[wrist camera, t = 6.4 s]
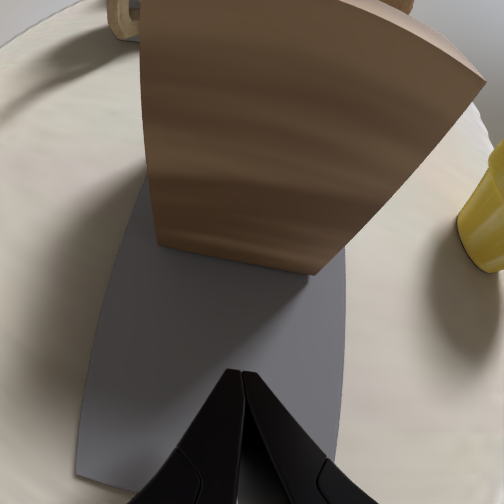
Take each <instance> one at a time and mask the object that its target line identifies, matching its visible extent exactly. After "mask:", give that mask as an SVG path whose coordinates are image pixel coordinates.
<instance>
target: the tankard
mask: <svg viewBox="0 0 504 504" xmlns="http://www.w3.org/2000/svg"><path fill="white" fill-rule="evenodd" d="M107 19H108V25H109V26H110V28H111V30H112V31H113V33H114V34H115V36H116V38H117V39H120V40H125V41H132V42H140V0H108V2H107Z"/></svg>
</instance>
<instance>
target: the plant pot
mask: <svg viewBox="0 0 504 504" xmlns="http://www.w3.org/2000/svg"><path fill="white" fill-rule="evenodd" d="M488 165H489V168H488V170H487V171H486V173H485V175H484V176H483V178H482V180H481V181H480V183H479V184H478V186H477V187H476V189H475V191H474V192H473V194H472V195H471V197H470V198H469V200H468V201H467V202H466V204H465V205H464V207H463V208H462V210H461V211H460V213H459V215H458V219H457V226H458V232H459V236H460V239H461V242H462V244H463V246H464V248H465V250H466V252H467V254H468V255H469V257H470V258H471V259H472V261H473V262H474V263H475V264H476V265H477V267H479V268H480V269H481V270H483V271H485V272H487V273H494V272H497V271H500V270H503V269H504V139H503V140H502V141H501V142H500V143H499V144H498V145H497V147H496V148H495V149H494V150H493V152H492V153H491V154H490V156H489V159H488Z"/></svg>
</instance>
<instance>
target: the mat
mask: <svg viewBox="0 0 504 504" xmlns="http://www.w3.org/2000/svg"><path fill="white" fill-rule="evenodd" d="M345 314H346V274H345V246H344V247H343V248H342V249H341V250H340V252H339V253H338V254H337V255H336V256H335V257H334V258H333V259H332V260H331V261H330V262H329V263H328V264H327V265H326V266H325V267H324V268H322V269H321V270H320V271H319V272H318V273H317V274H316V275H315V276H312V275H307V274H302V273H296V272H291V271H286V270H280V269H275V268H270V267H265V266H260V265H254V264H249V263H244V262H239V261H234V260H229V259H223V258H218V257H213V256H208V255H203V254H198V253H193V252H188V251H183V250H178V249H173V248H168V247H163V246H158V244H157V238H156V232H155V225H154V219H153V212H152V205H151V198H150V190H149V182H148V174H147V176H146V179H145V181H144V184H143V186H142V189H141V191H140V194H139V196H138V199H137V201H136V204H135V206H134V209H133V212H132V214H131V217H130V220H129V223H128V225H127V228H126V231H125V234H124V237H123V240H122V243H121V246H120V249H119V252H118V255H117V258H116V261H115V264H114V267H113V271H112V274H111V277H110V281H109V284H108V288H107V291H106V295H105V298H104V302H103V306H102V310H101V314H100V318H99V322H98V326H97V330H96V334H95V339H94V343H93V348H92V352H91V357H90V362H89V367H88V373H87V378H86V384H85V390H84V396H83V403H82V410H81V418H80V426H79V435H78V445H77V458H76V474H78V475H81V476H83V477H86V478H89V479H92V480H95V481H98V482H101V483H104V484H107V485H111V486H114V487H117V488H121V489H125V490H128V491H132V492H136V493H138V492H139V491H140V490H141V489H142V488H143V487H144V486H145V485H146V484H147V483H148V482H149V481H150V480H151V478H152V477H153V476H154V475H155V474H156V473H157V472H158V470H159V469H160V468H161V466H162V465H163V464H164V462H165V461H166V460H167V458H168V457H169V455H170V454H171V452H172V451H173V449H174V448H176V445H177V444H178V442H179V441H180V439H181V438H182V436H183V435H184V433H185V432H186V430H187V429H188V427H189V426H190V424H191V423H192V421H193V419H194V418H195V416H196V415H197V413H198V412H199V410H200V409H201V407H202V406H203V404H204V402H205V401H206V399H207V398H208V396H209V395H210V393H211V391H212V390H213V388H214V387H215V385H216V383H217V382H218V380H219V379H220V377H221V375H222V374H223V372H224V371H225V369H227V368H230V369H237V370H240V371H241V372H242V371H252V372H257V373H258V374H259V375H260V377H261V378H262V379H263V380H264V382H265V383H266V384H267V385H268V387H269V388H270V389H271V390H272V392H273V393H274V394H275V395H276V397H277V398H278V399H279V400H280V401H281V403H282V404H283V405H284V406H285V408H286V409H287V410H288V411H289V412H290V414H291V415H292V416H293V417H294V418H295V419H296V421H297V422H298V423H299V424H300V425H301V427H302V428H303V429H304V430H305V431H306V432H307V434H308V435H309V436H310V437H311V438H312V439H313V440H314V442H315V443H316V444H317V445H318V446H319V447H320V448H321V450H322V451H323V452H324V453H325V454H326V455H327V458H330V459H331V460H332V462H333V463H334V461H335V453H336V446H337V437H338V429H339V419H340V409H341V397H342V384H343V369H344V349H345ZM236 504H238V499H237V503H236Z"/></svg>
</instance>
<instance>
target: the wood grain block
mask: <svg viewBox="0 0 504 504" xmlns="http://www.w3.org/2000/svg"><path fill="white" fill-rule="evenodd" d="M486 82H487V81H486V80H485V79H484V78H483V77H482V75H481V74H480V73H479V72H478V71H477V70H476V69H475V67H474V66H473V65H472V64H471V63H470V62H469V61H468V60H467V59H466V58H465V57H464V55H463V54H462V53H461V52H460V51H459V50H458V49H457V48H456V47H455V46H454V45H453V44H452V43H451V42H450V41H449V40H448V39H447V38H446V37H444V36H443V35H442V34H440V33H439V32H437V31H435V30H434V29H432V28H430V27H429V26H427V25H425V24H424V23H422V22H420V21H418V20H417V19H415V18H413V17H411V16H409V15H407V14H405V13H403V12H402V11H400V10H398V9H396V8H394V7H392V6H389V5H387V4H385V3H383V2H381V1H379V0H140V85H141V105H142V120H143V133H144V145H145V155H146V165H147V174H148V182H149V190H150V198H151V205H152V212H153V219H154V225H155V232H156V238H157V244H158V246H163V247H168V248H173V249H178V250H183V251H188V252H193V253H198V254H203V255H208V256H213V257H218V258H223V259H229V260H234V261H239V262H244V263H249V264H254V265H260V266H265V267H270V268H275V269H280V270H286V271H291V272H296V273H302V274H307V275H312V276H315V275H316V274H317V273H318V272H319V271H320V270H321V269H322V268H324V267H325V266H326V265H327V264H328V263H329V262H330V261H331V260H332V259H333V258H334V257H335V256H336V255H337V254H338V253H339V252H340V250H341V249H342V248H343V247H344V246H345V245H346V244H347V243H348V242H349V241H350V240H351V239H352V238H353V237H354V236H355V235H356V234H357V233H358V232H359V231H360V230H361V229H362V228H363V227H364V226H365V225H366V224H367V223H368V222H369V220H370V219H371V218H372V217H373V216H374V215H375V214H376V213H377V212H378V211H379V210H380V209H381V208H382V207H383V206H384V204H385V203H386V202H387V201H388V200H389V199H390V198H391V197H392V196H393V195H394V194H395V192H396V191H397V190H398V189H399V188H400V187H401V186H402V185H403V184H404V182H405V181H406V180H407V179H408V178H409V177H410V176H411V175H412V173H413V172H414V171H415V170H416V169H417V168H418V167H419V165H420V164H421V163H422V162H423V161H424V160H425V158H426V157H427V156H428V155H429V154H430V153H431V151H432V150H433V149H434V148H435V147H436V146H437V144H438V143H439V142H440V141H441V140H442V138H443V137H444V136H445V135H446V134H447V132H448V131H449V130H450V129H451V127H452V126H453V125H454V124H455V122H456V121H457V120H458V119H459V117H460V116H461V115H462V114H463V112H464V111H465V110H466V109H467V107H468V106H469V105H470V104H471V102H472V101H473V100H474V98H475V97H476V96H477V94H478V93H479V92H480V90H481V89H482V88H483V86H484V85H485V84H486Z"/></svg>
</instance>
